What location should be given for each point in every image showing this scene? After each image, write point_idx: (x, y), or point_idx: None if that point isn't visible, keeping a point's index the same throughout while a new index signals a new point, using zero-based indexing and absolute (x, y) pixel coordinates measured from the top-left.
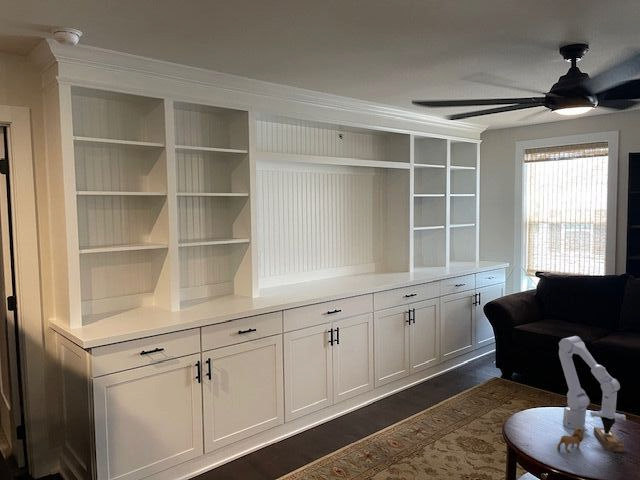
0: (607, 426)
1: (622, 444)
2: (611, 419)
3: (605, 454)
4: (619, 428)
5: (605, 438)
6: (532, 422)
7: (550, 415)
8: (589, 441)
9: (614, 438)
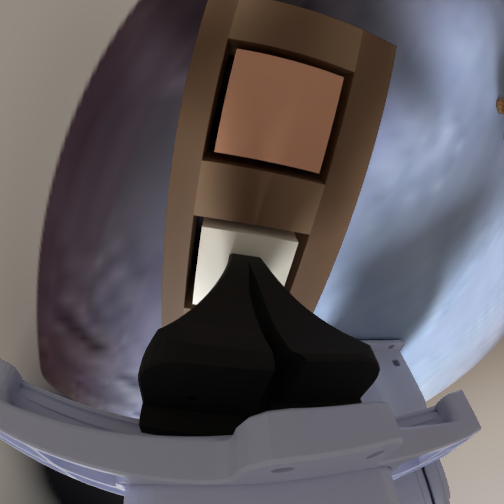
0: (269, 299)
1: (213, 9)
2: (209, 405)
3: (394, 6)
4: (95, 359)
5: (340, 139)
6: (472, 345)
7: None
8: (403, 191)
9: (228, 138)
